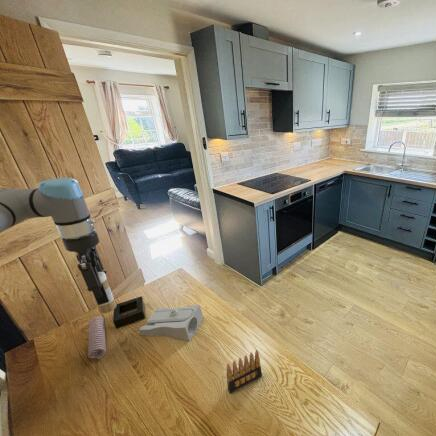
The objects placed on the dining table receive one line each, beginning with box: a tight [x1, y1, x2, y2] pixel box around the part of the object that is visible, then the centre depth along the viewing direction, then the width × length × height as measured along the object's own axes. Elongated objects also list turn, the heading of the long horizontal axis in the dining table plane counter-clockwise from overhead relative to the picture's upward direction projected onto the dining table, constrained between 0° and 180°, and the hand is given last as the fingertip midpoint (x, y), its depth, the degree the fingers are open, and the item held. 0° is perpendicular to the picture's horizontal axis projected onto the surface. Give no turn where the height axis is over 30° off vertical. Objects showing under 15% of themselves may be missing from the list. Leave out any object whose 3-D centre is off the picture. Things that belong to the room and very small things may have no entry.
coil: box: [87, 316, 107, 360], centre depth 86 cm, size 5×5×18 cm
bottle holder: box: [112, 295, 146, 330], centre depth 97 cm, size 10×10×4 cm
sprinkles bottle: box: [92, 272, 117, 314], centre depth 75 cm, size 5×5×14 cm
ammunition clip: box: [226, 349, 263, 394], centre depth 72 cm, size 11×2×12 cm, turn 120°
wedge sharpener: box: [138, 304, 204, 342], centre depth 92 cm, size 11×20×7 cm, turn 83°
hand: (104, 297), depth 76 cm, fingers closed on sprinkles bottle, 4 cm apart
